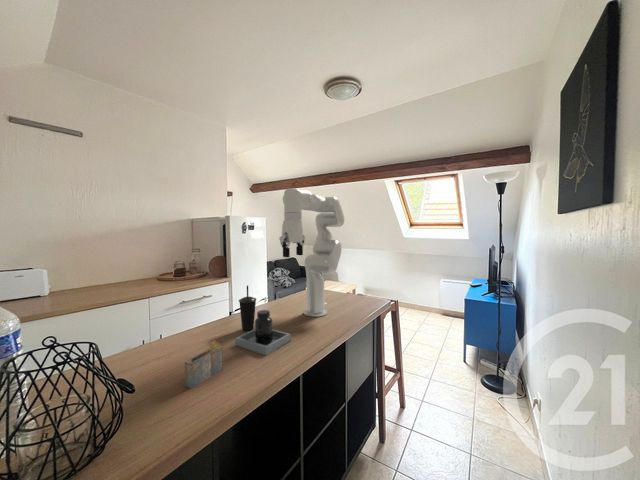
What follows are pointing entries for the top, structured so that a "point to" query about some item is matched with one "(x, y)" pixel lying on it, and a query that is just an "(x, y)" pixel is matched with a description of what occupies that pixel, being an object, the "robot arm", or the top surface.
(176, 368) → the top surface
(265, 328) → the supplement bottle
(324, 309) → the robot arm
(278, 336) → the tray
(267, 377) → the top surface
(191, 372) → the grey thin box
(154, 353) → the top surface
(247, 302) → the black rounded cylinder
